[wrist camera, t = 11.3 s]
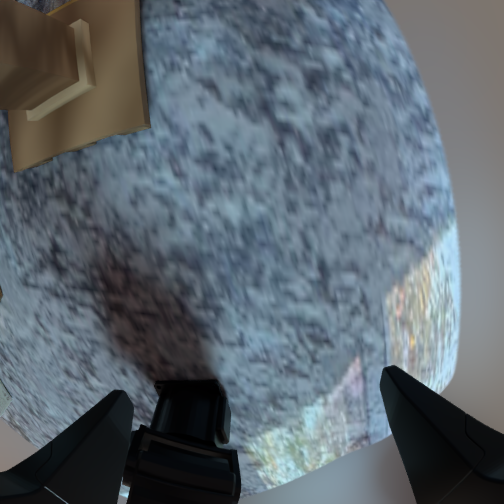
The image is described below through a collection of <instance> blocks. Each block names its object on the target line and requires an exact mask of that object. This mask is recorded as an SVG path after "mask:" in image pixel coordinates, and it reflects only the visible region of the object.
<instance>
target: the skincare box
mask: <svg viewBox="0 0 504 504" xmlns="http://www.w3.org/2000/svg"><path fill="white" fill-rule="evenodd" d="M11 401H12V398H11V396H10V395H9V393H8V392H7V390H6V389H5V387H4V385H3V383H2V382H1V380H0V417H1V416H2V414H3V413H4V411H5V410H6V408H7V407H8V405H9V404H10V402H11Z"/></svg>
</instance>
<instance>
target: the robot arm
mask: <svg viewBox="0 0 504 504" xmlns="http://www.w3.org/2000/svg"><path fill="white" fill-rule="evenodd" d="M154 388H155V390H156V392H157V394H158V395H159V399H158V402H157V406H156V409H155V412H154V415H153V418H152V421H151V425H150V428H148V427H147V426H145V425H142V424H141V425H140V427H139V430H136V431H132V432H131V429H132V421H133V413H134V406H133V404H132V402H131V400H130V398H129V397H128V395H127V393H126V392H125V391H124V390H113V391H112V392H110V393H109V394H108V395H107V396H106V397H104V398H103V399H102V400H101V401H100V402H98V403H97V404H96V405H95V406H93V407H92V408H91V409H90V410H89V411H87V412H86V413H85V414H84V415H82V416H81V417H80V418H79V419H78V420H76V421H75V422H74V423H73V424H71V425H70V426H69V427H68V428H66V429H65V430H64V431H63V432H61V433H60V434H59V435H58V436H57V437H55V438H54V439H53V440H52V441H50V442H49V443H48V444H46V445H45V446H44V447H43V448H41V449H40V450H39V451H37V452H36V453H34V454H33V455H31V456H30V457H28V458H27V459H25V460H24V461H22V462H20V463H19V464H17V465H16V466H14V467H12V468H11V469H9V470H7V471H4V472H0V504H117V500H118V496H119V491H120V486H121V481H122V477H123V481H122V485H125V486H128V487H130V491H129V495H128V500H127V503H126V504H238V501H239V498H240V493H241V476H240V469H239V462H238V455H237V450H234V449H230V450H229V449H224V448H223V444H227V443H228V442H229V437H230V422H231V410H230V407H229V404H228V401H227V398H226V397H223V395H222V392H221V388H220V385H219V383H218V382H217V381H216V380H200V381H156V382H155V385H154ZM380 391H381V395H382V398H383V402H384V406H385V410H386V414H387V418H388V422H389V426H390V428H391V431H392V434H393V436H394V439H395V442H396V445H397V447H398V450H399V453H400V455H401V458H402V461H403V464H404V466H405V470H406V472H407V475H408V478H409V481H410V484H411V487H412V490H413V493H414V496H415V499H416V503H417V504H504V434H502V433H500V432H498V431H496V430H494V429H492V428H490V427H488V426H486V425H485V424H483V423H481V422H480V421H478V420H476V419H475V418H473V417H472V416H470V415H469V414H466V413H465V412H464V411H463V410H461V409H460V408H458V407H457V406H455V405H453V404H452V403H451V402H449V401H448V400H446V399H445V398H443V397H442V396H440V395H439V394H437V393H436V392H434V391H433V390H431V389H430V388H428V387H427V386H425V385H424V384H422V383H421V382H419V381H418V380H416V379H415V378H413V377H412V376H411V375H409V374H408V373H406V372H405V371H403V370H402V369H400V368H399V367H397V366H395V365H391V366H388V367H384V368H383V371H382V375H381V380H380Z"/></svg>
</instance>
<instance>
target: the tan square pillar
mask: <svg viewBox="0 0 504 504" xmlns="http://www.w3.org/2000/svg"><path fill="white" fill-rule="evenodd" d="M96 87H97V86H96V80H95V73H94V66H93V59H92V51H91V43H90V33H89V24H88V23H87V22H85V21H83V20H82V19H79V20H77V21H76V22H74V23H72V24H70V25H67V24H65V23H63V22H61V21H59V20H57V19H55V18H53V17H50V16H48V15H46V14H44V13H42V12H40V11H38V10H36V9H33V8H31V7H29V6H26V5H24V4H22V3H19V2H17V1H15V0H0V110H26V113H27V120H28V121H38V120H40V119H41V118H43V117H45V116H46V115H48V114H49V113H51V112H53V111H54V110H56V109H58V108H59V107H61V106H63V105H64V104H66V103H68V102H70V101H71V100H73V99H75V98H77V97H79V96H81V95H82V94H84V93H86V92H88V91H90V90H92V89H94V88H96Z"/></svg>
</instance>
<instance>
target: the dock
mask: <svg viewBox="0 0 504 504" xmlns="http://www.w3.org/2000/svg"><path fill="white" fill-rule="evenodd" d="M46 15H48V16H50V17H53V18H55V19H57V20H59V21H61V22H63V23H65V24H67V25H70V24H72V23H74V22H76V21H77V20H79V19H82V20H83V21H85V22H87V23H88V24H89V33H90V43H91V51H92V59H93V66H94V73H95V80H96V86H97V87H96V88H94V89H92V90H90V91H88V92H86V93H84V94H82V95H81V96H79V97H77V98H75V99H73V100H71V101H70V102H68V103H66V104H64V105H63V106H61V107H59V108H58V109H56V110H54V111H53V112H51V113H49V114H48V115H46V116H45V117H43V118H41V119H40V120H38V121H28V120H27V113H26V110H8V121H9V135H10V145H11V153H12V161H13V168H14V173H15V172H20V171H23V170H25V169H29V168H34V167H38V166H40V165H42V164H45V163H47V162H49V161H52V160H53V158H52V157H55V156H57V155H60V154H62V153H65V152H74V151H78V150H81V149H83V148H86V147H89V146H92V145H95V144H96V141H98V140H101V139H104V138H107V137H110V136H113V135H127V134H130V133H134V132H138V131H141V130H145V129H149V128H151V124H150V117H149V110H148V102H147V94H146V85H145V76H144V65H143V54H142V41H141V26H140V3H139V0H71V1H69V2H67V3H65V4H63V5H61V6H60V7H58V8H56V9H54V10H53V11H51V12H49V13H48V14H46Z"/></svg>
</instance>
